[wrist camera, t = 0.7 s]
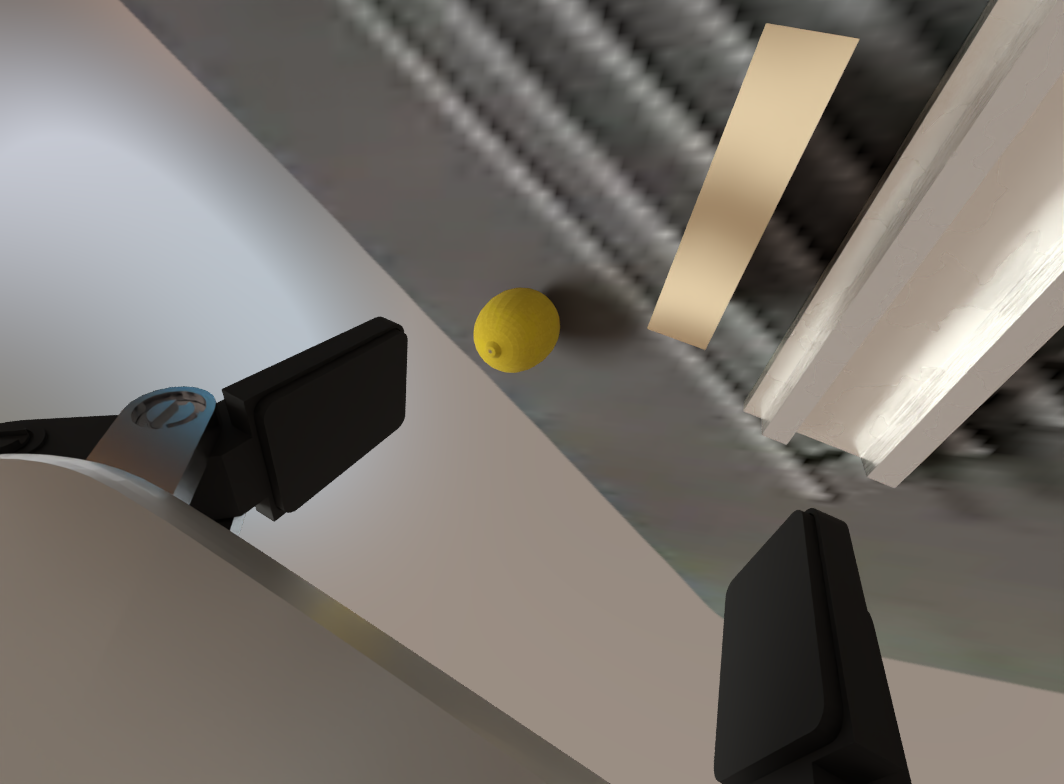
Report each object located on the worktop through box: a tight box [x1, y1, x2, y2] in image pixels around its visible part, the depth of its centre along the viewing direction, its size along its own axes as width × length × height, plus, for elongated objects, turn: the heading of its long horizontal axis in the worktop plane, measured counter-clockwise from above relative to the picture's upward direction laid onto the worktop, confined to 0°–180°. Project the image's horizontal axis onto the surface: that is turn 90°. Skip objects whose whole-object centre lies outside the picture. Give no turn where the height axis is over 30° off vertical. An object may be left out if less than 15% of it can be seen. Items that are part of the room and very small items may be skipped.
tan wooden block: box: [647, 23, 859, 350], centre depth 21 cm, size 12×3×8 cm, turn 168°
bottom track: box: [743, 0, 1064, 488], centre depth 20 cm, size 22×10×3 cm, turn 168°
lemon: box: [474, 288, 560, 373], centre depth 30 cm, size 6×6×8 cm
